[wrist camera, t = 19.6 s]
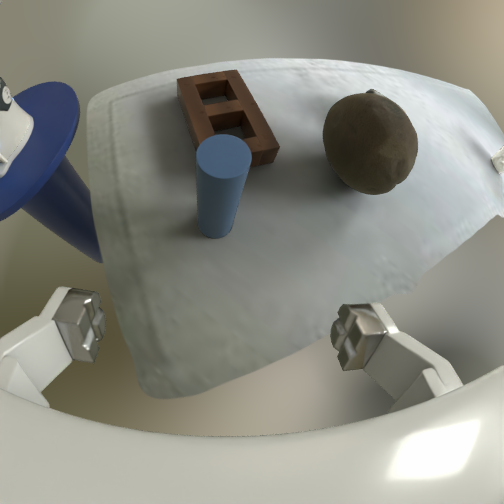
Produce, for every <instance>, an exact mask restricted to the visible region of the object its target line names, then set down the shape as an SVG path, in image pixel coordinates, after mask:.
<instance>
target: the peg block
mask: <svg viewBox="0 0 504 504" xmlns="http://www.w3.org/2000/svg"><path fill="white" fill-rule="evenodd" d="M177 96H178V99H179V102H180V105H181V108H182V111H183V114H184V117H185V120H186V123H187V126H188V129H189V132H190V135H191V138H192V141H193V144H194V147H195V149H196V152H197V149H198V147H199V145H200V144H201V143H202V142H203V141H204V140H205V139H207V138H209V137H211V136H214V135H215V133H214V132H215V131H220V130H225V129H230V128H235V127H240V128H241V130H242V132H243V134H244V136H245V138H246V139H241V140H242V141H243V142H245V143H246V144H247V146H248V147H249V149H250V151H251V155H252V159H251V164H250V167H254V166H259V165H264V164H268V163H273V162H274V160H275V157H276V155H277V153H278V151H279V148H280V146H279V144H278V142H277V140H276V138H275V136H274V135H273V133H272V131H271V129H270V127H269V125H268V123H267V121H266V120H265V118H264V116H263V114H262V112H261V111H260V109H259V107H258V105H257V103H256V102H255V100H254V98H253V96H252V95H251V93H250V91H249V89H248V88H247V86H246V84H245V83H244V81H243V79H242V78H241V76H240V74H239V73H238V71H237V70H229V71H222V72H214V73H208V74H201V75H195V76H189V77H184V78H179V79H177ZM219 96H225V97H226V99H227V101H226V102H220V103H214V104H208V105H204V106H203V103H202V101H201V100H202V99H208V98H213V97H219ZM250 167H249V168H250Z"/></svg>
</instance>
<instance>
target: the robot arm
mask: <svg viewBox="0 0 504 504" xmlns="http://www.w3.org/2000/svg"><path fill="white" fill-rule="evenodd" d="M2 1H3V0H0V4H1V3H2ZM33 125H34V121H33V118H32V116H30V115H29V114H27V113H26V112H25V111H24V110H22V109H21V108H20V107H19V106H18V104H17V103H16V102H15V101H14V99H13V98H12V95H11V93H10V91H9V89H8V87H7V86H6V84H5V82H4V81H3V79H2V78H1V77H0V178H1V177H3V176H4V175H5V174H6V172H7V170H8V169H9V167H10V165H11V163H12V161H13V160H14V159H15V158H16V156H17V155H18V154H19V153H20V151H21V150H22V149H23V147H24V146H25V144H26V143H27V141H28V139H29V137H30V135H31V133H32V130H33ZM100 303H101V298H100V295H99V293H97V292H95V291H88V290H82V289H75V288H68V287H62V286H60V287H58V288H57V289H56V291H55V292H54V294H53V295H52V297H51V298H50V300H49V301H48V303H47V304H46V306H45V308H44V309H43V311H42V312H41V314H40V316H39V317H36V316H35V317H33V318H32V319H30V320H29V321H27V322H25V323H24V324H22V325H21V326H19V327H18V328H16V329H14V330H13V331H11V332H9V333H8V334H6V335H5V336H3V337H2V338H0V504H504V365H502V366H500V367H499V368H497V369H495V370H493V371H491V372H489V373H488V374H486V375H484V376H482V377H480V378H478V379H476V380H474V381H472V382H470V383H468V384H466V385H463V384H462V382H461V380H460V379H459V377H458V375H457V374H456V372H455V371H454V369H453V367H452V366H451V365H450V363H449V362H448V361H447V360H446V359H444V358H443V357H441V356H439V355H438V354H436V353H435V352H434V351H432V350H430V349H429V348H427V347H426V346H424V345H423V344H421V343H420V342H418V341H417V340H415V339H413V338H412V337H410V336H409V335H407V334H405V333H404V332H400V331H399V330H398V329H397V327H396V325H395V324H394V322H393V321H392V319H391V318H390V316H389V315H388V313H387V312H386V310H385V309H384V307H383V306H382V304H380V303H367V304H343V305H342V306H341V307H340V308H339V311H338V315H339V318H338V319H337V320H336V321H334V322H333V325H332V328H331V335H330V337H331V342H332V345H333V347H334V348H335V349H336V350H338V351H339V354H338V356H337V357H338V360H339V362H340V365H341V367H342V370H343V371H347V370H356V369H363V370H364V371H365V372H366V373H367V374H368V375H369V376H371V378H373V379H374V380H375V381H376V382H377V383H378V384H379V385H380V386H381V387H382V388H383V389H384V390H385V391H386V392H388V393H389V394H390V395H391V396H392V397H393V398H394V399H395V400H396V402H395V403H394V404H393V405H392V406H391V407H390V408H389V410H388V413H389V414H386V415H382V416H378V417H375V418H371V419H367V420H363V421H359V422H354V423H349V424H345V425H340V426H335V427H329V428H323V429H317V430H310V431H304V432H296V433H286V434H275V435H260V436H237V437H236V436H231V437H230V436H227V437H226V436H220V437H219V436H218V437H217V436H191V435H178V434H167V433H158V432H150V431H143V430H136V429H130V428H124V427H119V426H114V425H109V424H104V423H100V422H96V421H92V420H88V419H84V418H80V417H76V416H72V415H70V414H66V413H63V412H59V411H57V410H54V409H51V408H49V403H48V401H47V400H46V399H45V398H44V397H43V395H42V394H41V393H40V392H41V391H42V390H43V389H44V388H45V387H46V386H47V385H48V384H49V383H50V382H51V381H52V380H53V379H54V378H55V377H56V376H58V374H60V373H61V372H62V371H63V370H64V369H65V368H66V367H67V366H68V365H69V364H70V363H71V362H72V361H73V360H77V361H83V362H89V363H94V362H95V359H96V356H97V353H98V351H99V346H98V343H97V342H99V341H100V340H102V339H103V337H104V334H105V329H106V318H105V314H104V311H103V310H102V309H101V308H100V307H99V306H100Z"/></svg>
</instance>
